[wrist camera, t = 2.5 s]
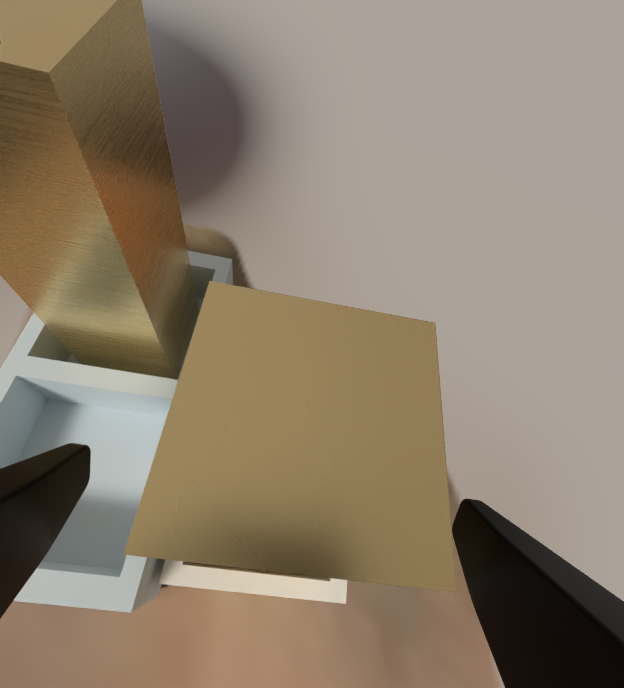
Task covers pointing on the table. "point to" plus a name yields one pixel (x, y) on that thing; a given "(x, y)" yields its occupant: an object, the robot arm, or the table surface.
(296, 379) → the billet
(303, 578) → the box
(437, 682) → the table surface
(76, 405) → the two-compartment pale blue organizer
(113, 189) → the seated billet
